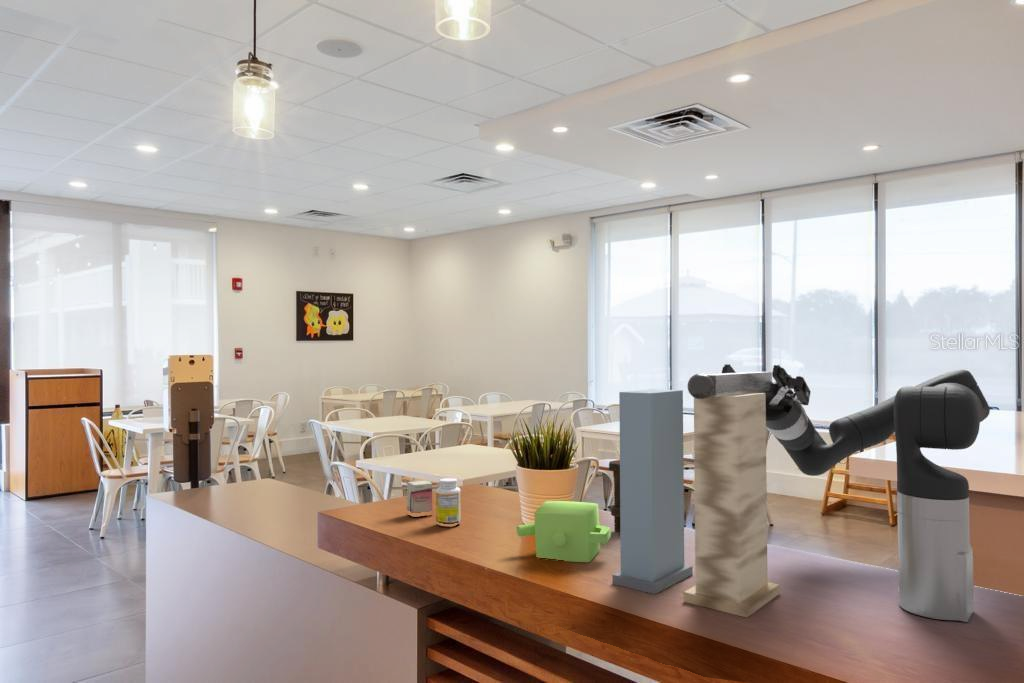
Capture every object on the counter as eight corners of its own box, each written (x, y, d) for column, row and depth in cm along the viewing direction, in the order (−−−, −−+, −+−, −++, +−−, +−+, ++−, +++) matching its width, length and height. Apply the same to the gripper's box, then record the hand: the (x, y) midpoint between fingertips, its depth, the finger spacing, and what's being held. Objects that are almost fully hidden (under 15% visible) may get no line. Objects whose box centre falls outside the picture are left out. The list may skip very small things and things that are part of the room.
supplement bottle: (444, 520, 160) (444, 476, 160) (465, 523, 157) (465, 478, 157) (431, 526, 155) (431, 480, 155) (452, 529, 152) (452, 482, 152)
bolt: (633, 535, 146) (632, 464, 146) (609, 534, 147) (608, 463, 147) (633, 528, 152) (633, 460, 152) (610, 527, 153) (610, 459, 153)
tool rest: (779, 593, 110) (777, 393, 111) (746, 617, 101) (744, 397, 101) (719, 580, 117) (717, 391, 117) (683, 601, 107) (681, 394, 108)
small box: (413, 518, 162) (412, 484, 162) (406, 514, 166) (406, 481, 166) (433, 516, 165) (432, 482, 165) (426, 512, 168) (426, 480, 169)
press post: (692, 574, 120) (690, 390, 121) (655, 594, 110) (653, 393, 111) (651, 565, 125) (650, 388, 126) (612, 583, 116) (611, 392, 116)
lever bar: (773, 392, 118) (773, 370, 118) (707, 400, 99) (707, 374, 99) (751, 391, 121) (751, 369, 121) (683, 399, 102) (682, 373, 102)
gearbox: (509, 561, 130) (507, 511, 130) (526, 545, 140) (524, 498, 139) (604, 568, 124) (602, 516, 124) (614, 551, 134) (612, 502, 133)
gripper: (818, 434, 120) (789, 390, 109) (738, 428, 129) (704, 387, 118) (825, 395, 123) (797, 349, 112) (746, 392, 132) (713, 349, 121)
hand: (749, 369), depth 115 cm, fingers open, 8 cm apart
